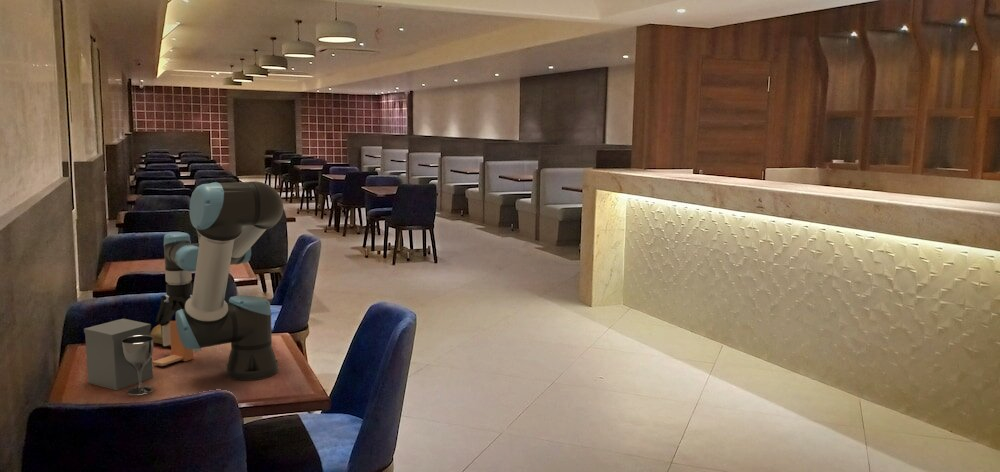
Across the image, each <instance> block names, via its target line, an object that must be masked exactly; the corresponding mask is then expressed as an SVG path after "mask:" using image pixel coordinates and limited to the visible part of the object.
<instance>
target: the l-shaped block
mask: <svg viewBox="0 0 1000 472" xmlns="http://www.w3.org/2000/svg"><path fill="white" fill-rule="evenodd" d="M170 333H171V347H170V349H171V355H168V356H166V357H162V358H159V359H156V360H152V365H156V366H159V367H163V366H168V365H169V364H172V363H175V362H179V361H180V362H181V361H183V362H188V361H190V360H193V359H194V353H193V349H187V348H185V347H184V346H183V344H182V343H181V340H180V337H179V334H178V330H177V326H176V319H175V320H170Z"/></svg>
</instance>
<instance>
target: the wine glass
mask: <svg viewBox="0 0 1000 472" xmlns="http://www.w3.org/2000/svg"><path fill="white" fill-rule="evenodd" d="M122 351H123V355H124V358H125V360H126V361H127V362H128V363H129V364H130V365H131V366H132V367H134V369H135V370H136V372H137V375H138V383H137V384H138V385H137V386H135V387H131V388H130V389H128V390H127V391H126V394H127V395H129V396H143V395H147V394H150V393H152V392H154V391H155V388H154V387H153V386H150V385H142V384H143V383H142V382H143V381H142V382H141V377H142V370H143V368H144V366H145V365H146V364H147V363H148V361H149V360H150V359H151V357H152V358H153V352H154V342H153V337H152V336H149V335H136V336H130V337H127V338H124V339H122Z"/></svg>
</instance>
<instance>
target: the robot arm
mask: <svg viewBox="0 0 1000 472" xmlns="http://www.w3.org/2000/svg"><path fill="white" fill-rule="evenodd" d="M283 214H284V202H283V199H282V197H281V195H280V193H279V192H278V191H277V190H276V189H275V188H273V187H272V185H269V184H267V183H265V182H262V181H256V180H254V181H252V180H251V181H239V182H217V181H215V182H211V183H202V184H200V185H198V186H196V187H195V188H194V190H193V191H192V193H191V197H190V201H189V218H190V223H191V226H192V227H193V228H195V230H196V232H197V233H198V235H200V237H199V243H198V242H197V243H192V241H191V236H190V234H189V233H187V232H169V233H165V235H164V236H163V244H162V245H163V250H164V251H163V253H164V254H163V255H164V275H165V282H166V284H165V289H166V290H165V294H163V295H161V297H160V299H161V300H160V301H161V302H160V306H159V308H158V311H157V315H156V319H155V323H156V324H160V325H161V331H162V335H163V344H162V347H168V346H167V345H171V333H170V324H169V322H170V321H172V319H173V317H174V316H175V320H176V326H177V330H178V334H179V337H180V340H181V343H182V344H183V346H184V347H185V348H187V349H193V354H195V353H199V352H202V349H203V348H208V347H214V346H220V345H225V344H230V348H231V349H230V351H229V357H228V361H227V363H226V366H225V375H226V376H227V377H228V378H230V379H231V380H232V379H233V380H238V381H239V380H240V381H254V380H261V379H266V378H269V377H272V376H274V375H276V374H277V373H278V372H279V361H278V360H277V358H276V355H275V351H274V349H273V345H272V342H273V341H272V340H273V339H272V311H271V310H272V309H271V303H270V301H269V300H268V299H266V298H265V297H261V296H256V295H255V296H254V295H234V296H230V297H229V299H228V303H227V301H226V300H225V297H226V291H227V285H228V280H229V272H230V267H231V265H237V266H238V265H241V264H247V263H248V262H249V261H251V256H252V246H254V244H256V242H257V241H258V240H259V239H260V237H261V236H262V235H263V234H264V233H265V231H267V230H268V229H272V228H273V227H275V226H277V224H278V223H279V222H280V220H281V218H282V217H283ZM192 272H194V281H193V282H192V280H193V277H192ZM167 324H168V325H167Z"/></svg>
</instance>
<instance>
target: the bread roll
mask: <svg viewBox="0 0 1000 472" xmlns="http://www.w3.org/2000/svg"><path fill="white" fill-rule="evenodd" d="M169 324H170V322H169ZM167 325H168V324H167ZM150 335H151V336H152V337H153V343H156V344H160V345H163V335H162V331H161V325H160V323H158V324H157V325H156V326H154V327H152V329H151V330H150ZM166 347H169V348H171V345H167V346H166Z"/></svg>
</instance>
